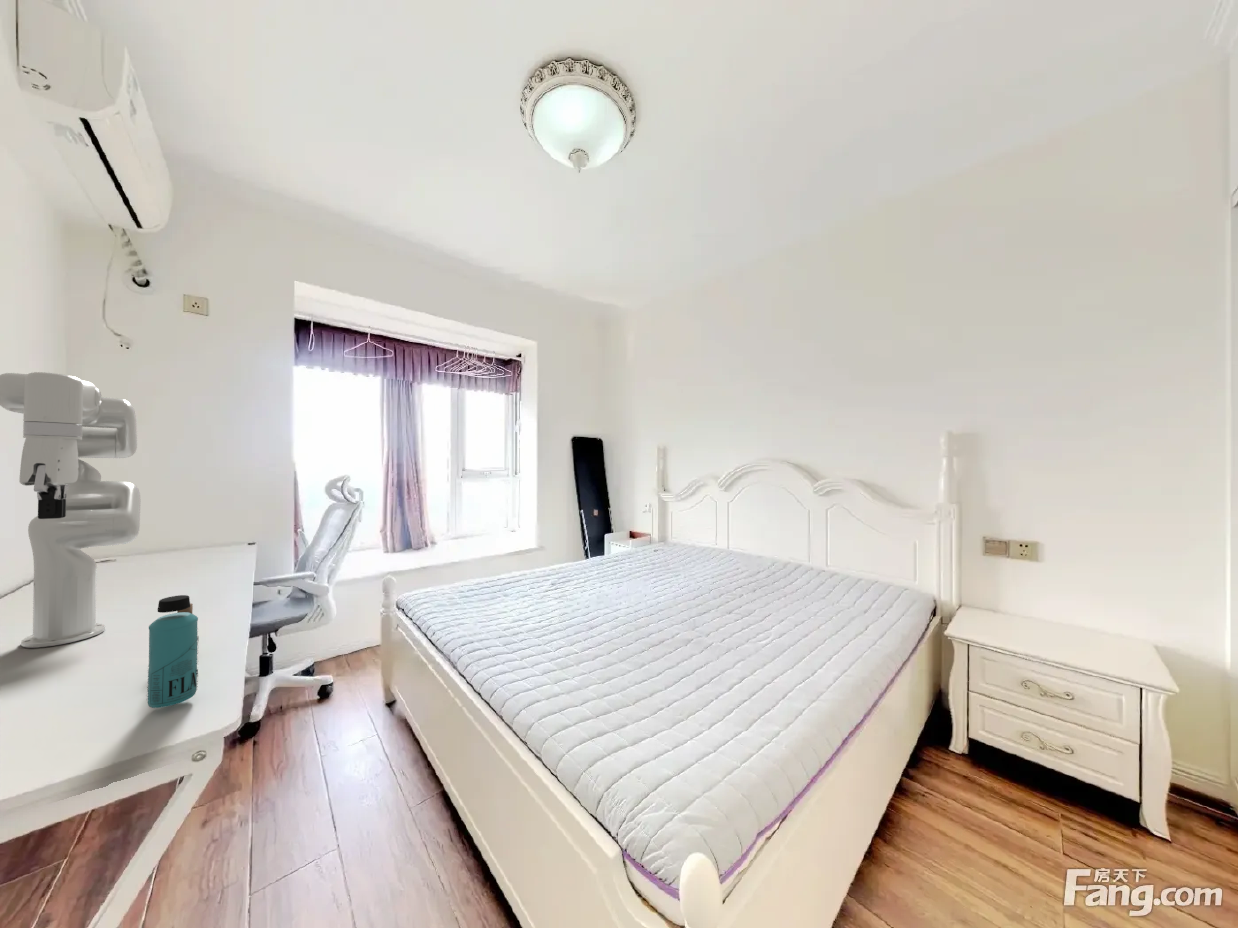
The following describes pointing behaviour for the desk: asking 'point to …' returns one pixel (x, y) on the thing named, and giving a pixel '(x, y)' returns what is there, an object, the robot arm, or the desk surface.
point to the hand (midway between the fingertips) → (51, 517)
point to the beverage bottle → (172, 654)
